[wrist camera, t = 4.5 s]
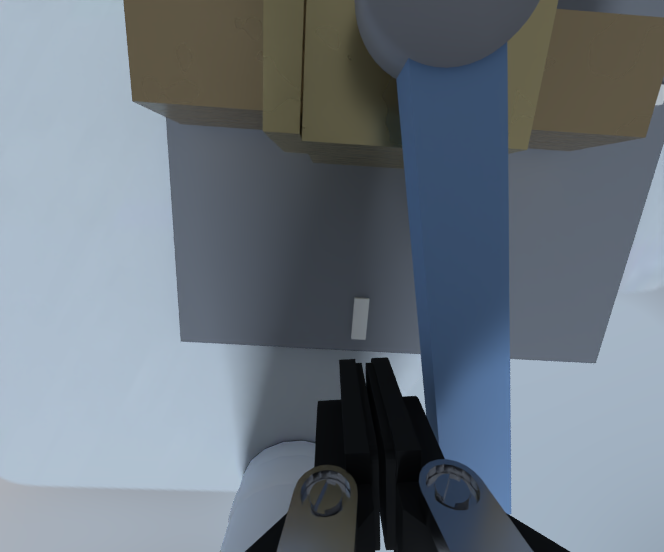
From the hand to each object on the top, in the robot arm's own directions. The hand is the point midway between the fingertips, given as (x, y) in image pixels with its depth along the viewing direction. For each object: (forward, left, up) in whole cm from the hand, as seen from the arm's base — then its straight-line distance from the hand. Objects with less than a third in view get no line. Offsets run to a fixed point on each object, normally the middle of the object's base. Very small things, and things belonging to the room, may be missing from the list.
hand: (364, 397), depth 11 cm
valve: (-11, 0, -8) cm, 14 cm away
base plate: (-7, +2, -8) cm, 11 cm away
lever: (-5, +2, +1) cm, 5 cm away
